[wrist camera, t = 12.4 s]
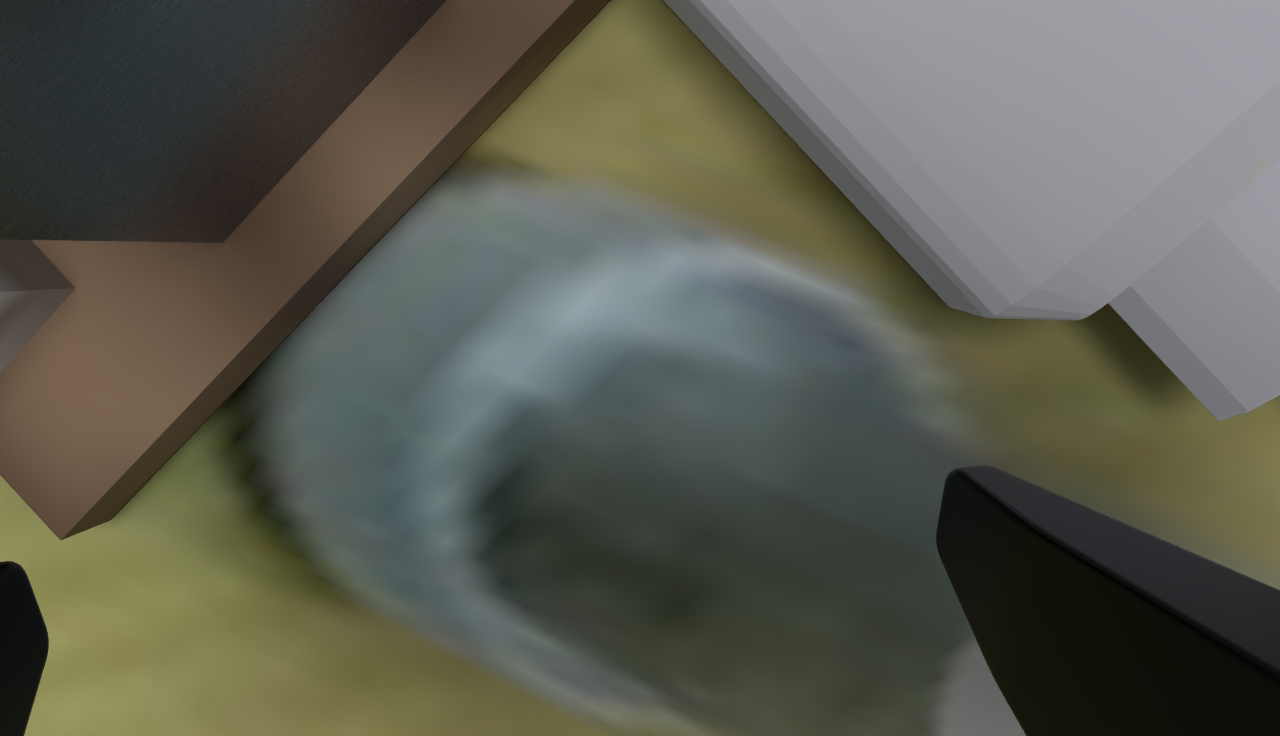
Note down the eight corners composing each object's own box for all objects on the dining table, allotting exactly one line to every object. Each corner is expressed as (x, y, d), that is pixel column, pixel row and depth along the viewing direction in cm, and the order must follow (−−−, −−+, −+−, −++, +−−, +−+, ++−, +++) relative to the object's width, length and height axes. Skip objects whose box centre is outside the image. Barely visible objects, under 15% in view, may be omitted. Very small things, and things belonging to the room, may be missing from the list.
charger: (1160, 539, 18) (634, -24, 18) (1590, 206, 16) (1008, -413, 17) (1295, 638, 13) (587, -120, 14) (1913, 188, 12) (1101, -674, 12)
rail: (300, -426, 18) (123, -680, 13) (654, -46, 18) (609, -159, 13) (-190, 195, 21) (-480, 179, 16) (110, 519, 21) (-92, 602, 16)
